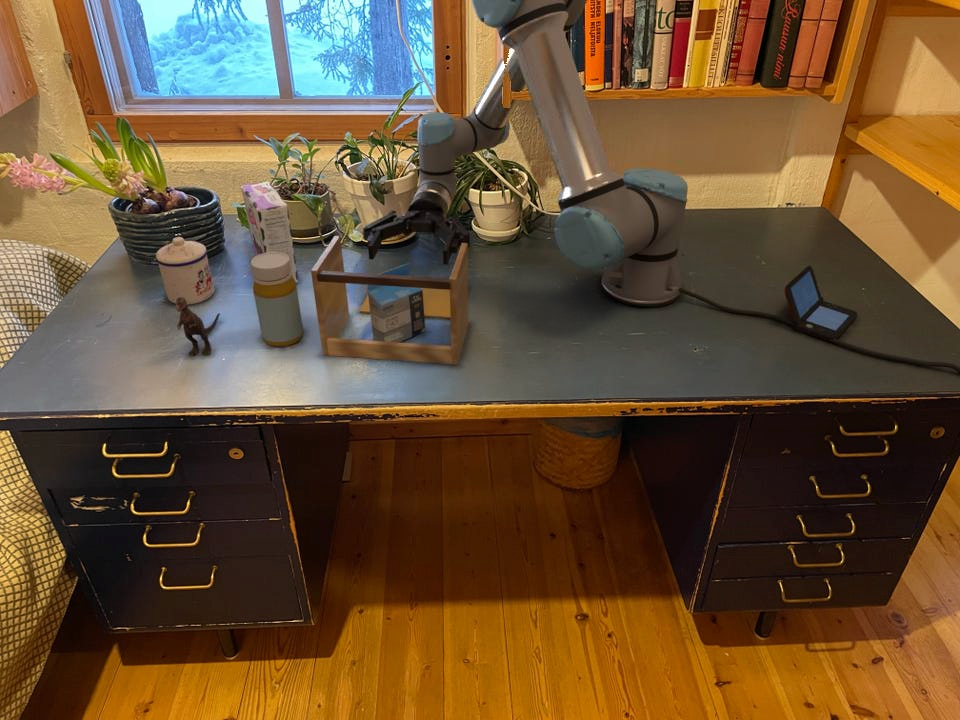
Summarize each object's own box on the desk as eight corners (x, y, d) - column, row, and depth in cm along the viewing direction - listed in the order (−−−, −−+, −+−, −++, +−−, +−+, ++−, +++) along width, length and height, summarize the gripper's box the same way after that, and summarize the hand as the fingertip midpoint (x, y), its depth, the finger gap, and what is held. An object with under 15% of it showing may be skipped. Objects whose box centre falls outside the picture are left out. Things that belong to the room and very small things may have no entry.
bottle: (259, 331, 131) (244, 255, 122) (299, 323, 133) (287, 247, 125) (266, 351, 126) (251, 273, 117) (307, 343, 128) (295, 265, 119)
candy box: (254, 260, 154) (239, 184, 145) (282, 254, 156) (269, 179, 147) (270, 289, 144) (256, 209, 135) (300, 282, 146) (288, 203, 137)
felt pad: (465, 287, 144) (465, 286, 144) (455, 319, 135) (455, 317, 134) (375, 282, 146) (375, 280, 146) (359, 312, 136) (359, 310, 136)
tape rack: (468, 324, 133) (467, 243, 124) (457, 365, 122) (455, 279, 113) (344, 316, 135) (334, 235, 126) (322, 355, 125) (310, 270, 116)
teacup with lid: (208, 306, 138) (195, 249, 132) (159, 306, 138) (143, 249, 132) (225, 276, 148) (214, 222, 142) (180, 276, 148) (166, 222, 142)
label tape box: (385, 350, 126) (379, 286, 119) (371, 340, 129) (365, 277, 122) (426, 332, 131) (423, 269, 124) (412, 323, 133) (408, 261, 126)
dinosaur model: (168, 302, 116) (194, 263, 128) (180, 366, 121) (203, 323, 134) (194, 302, 116) (217, 264, 129) (205, 366, 122) (226, 324, 135)
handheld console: (834, 345, 128) (846, 307, 123) (773, 323, 133) (782, 287, 129) (858, 317, 135) (870, 281, 131) (800, 298, 141) (809, 263, 137)
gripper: (490, 229, 151) (476, 278, 133) (370, 221, 153) (341, 269, 136) (490, 194, 146) (476, 240, 129) (367, 187, 149) (337, 231, 131)
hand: (407, 255), depth 132 cm, fingers open, 13 cm apart
